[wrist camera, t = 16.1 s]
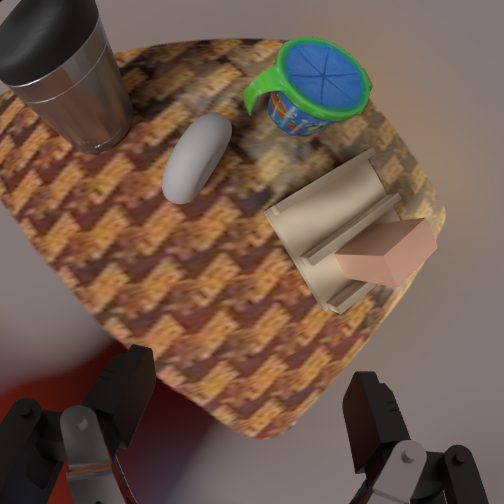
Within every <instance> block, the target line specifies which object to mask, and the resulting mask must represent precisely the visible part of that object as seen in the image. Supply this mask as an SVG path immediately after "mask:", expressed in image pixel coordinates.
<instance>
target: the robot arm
mask: <svg viewBox="0 0 504 504" xmlns="http://www.w3.org/2000/svg"><path fill="white" fill-rule="evenodd" d="M1 1H2V0H0V2H1ZM0 80H1V81H2V82H3V83H5V84H6V85H7V86H8V87H9V88H10V89H11V90H12V91H13V92H14V93H15V94H16V95H17V96H18V97H19V98H20V99H21V100H23V101H24V102H25V103H26V104H27V105H28V106H29V107H30V108H31V109H32V110H33V111H35V112H36V113H37V114H38V115H39V116H40V117H41V118H42V119H43V120H44V121H45V122H46V123H48V124H49V125H50V126H51V127H52V128H53V129H54V130H55V131H56V132H57V133H59V134H60V135H61V136H62V137H63V138H64V139H65V140H66V141H67V142H68V143H70V144H71V145H72V146H73V147H74V148H75V149H77V150H78V151H80V152H83V153H87V154H95V153H100V152H103V151H106V150H108V149H110V148H112V147H113V146H115V145H116V144H117V143H119V142H120V141H121V140H122V138H123V137H124V136H125V135H126V133H127V132H128V130H129V129H130V126H131V124H132V121H133V116H134V110H133V105H132V102H131V100H130V97H129V95H128V92H127V89H126V87H125V84H124V81H123V79H122V76H121V74H120V71H119V68H118V66H117V63H116V60H115V58H114V55H113V52H112V49H111V47H110V44H109V41H108V38H107V36H106V33H105V30H104V27H103V24H102V22H101V18H100V15H99V13H98V8H97V5H96V3H95V0H21V1H20V2H19V4H18V5H17V6H16V7H15V8H14V10H13V11H12V12H11V13H10V14H9V15H8V17H7V18H6V19H5V20H4V22H3V23H2V24H1V26H0ZM155 382H156V373H155V366H154V359H153V351H152V349H151V348H148V347H144V346H139V345H135V344H133V345H132V346H131V347H130V349H129V350H128V352H127V353H126V355H123V354H118V355H117V356H115V357H114V358H113V359H111V360H110V361H109V362H108V364H107V365H106V367H105V368H104V371H102V373H101V374H100V376H99V378H98V379H97V380H96V382H95V383H94V385H93V386H92V388H91V389H90V391H89V392H88V394H87V396H86V397H85V399H84V400H83V402H82V403H81V405H77V406H72V407H69V408H68V409H66V410H65V411H64V412H55V411H48V410H42V408H41V406H40V405H39V403H38V402H37V401H35V400H34V399H31V398H23V399H20V400H18V401H16V402H15V403H14V404H13V406H12V407H11V409H10V410H9V412H8V413H7V415H6V416H5V417H4V419H3V421H2V422H1V424H0V504H47V503H48V500H49V498H50V495H51V493H52V490H53V488H54V485H55V483H56V481H57V478H58V476H59V474H60V471H61V469H62V467H63V465H64V462H68V463H69V469H70V470H69V471H67V480H68V483H69V487H70V490H71V494H72V497H73V500H74V503H75V504H137V502H136V500H135V498H134V497H133V495H132V493H131V491H130V489H129V486H128V484H127V482H126V480H125V477H124V475H123V473H122V470H121V468H120V465H119V462H118V460H117V457H116V455H115V453H116V451H117V449H118V447H121V448H124V449H128V447H129V445H130V442H131V440H132V438H133V435H134V433H135V431H136V428H137V426H138V424H139V421H140V419H141V417H142V415H143V412H144V410H145V407H146V405H147V403H148V401H149V399H150V396H151V394H152V392H153V389H154V386H155ZM343 414H344V418H345V423H346V428H347V432H348V437H349V442H350V447H351V453H352V458H353V463H354V468H355V474H360V473H365V474H366V479H365V481H364V482H363V483H362V485H361V487H360V488H359V490H358V491H357V493H356V494H355V496H354V497H353V499H352V500H351V502H350V503H349V504H409V500H410V504H446V501H447V504H489V503H488V500H487V496H486V493H485V490H484V487H483V484H482V481H481V478H480V475H479V472H478V469H477V466H476V464H475V461H474V458H473V456H472V453H471V452H470V451H469V449H468V448H466V447H464V446H462V445H454V446H451V447H450V448H449V449H448V450H447V451H446V452H445V453H439V452H428V451H425V449H424V448H423V446H422V445H421V444H419V443H418V442H415V441H412V440H411V439H410V436H409V433H408V431H407V428H406V425H405V422H404V420H403V417H402V415H401V412H400V411H399V407H398V404H397V403H396V399H395V397H394V395H393V392H392V391H391V390H390V389H389V388H388V387H387V386H386V384H385V383H379V381H378V378H377V375H376V373H375V372H374V371H364V372H363V371H357V372H355V373H354V375H353V378H352V380H351V382H350V384H349V387H348V389H347V391H346V393H345V396H344V399H343ZM443 491H444V492H443ZM444 493H445V496H446V501H445V496H444Z"/></svg>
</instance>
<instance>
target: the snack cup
mask: <svg viewBox="0 0 504 504" xmlns="http://www.w3.org/2000/svg"><path fill="white" fill-rule="evenodd" d="M371 89H372V83H371V81H370V79H369V77H368V75H367V73H366V72H365V70H364V69H363V68H361V66H360V65H359V64H358V62H357V61H356V60H355V59H354V58H353V57H352V56H351V55H350V54H349V53H348V52H346V51H345V50H344V49H342V48H341V47H339V46H337V45H335V44H334V43H331V42H329V41H326V40H323V39H320V38H314V37H301V38H296V39H293V40H291V41H288V42H286V43H285V44H284V45H283V47H282V48H281V49H280V51H279V53H278V55H277V57H276V60H275V64H274V66H273V67H272V68H270V69H268V70H266V71H265V72H263V73H262V74H260V75H259V76H258V77H256V78H255V79H254V80H253V81H252V82H251V83H250V84H249V86H248V87H247V88H246V89H245V91H244V93H243V99H244V103H245V106H246V109H247V112H248V114H249V115H250V116H251V115H252V109H253V107H254V105H255V103H256V101H257V99H258V97H259V96H260V95H262V94H264V93H267V92H270V97H269V103H268V108H269V115H270V117H271V118H272V119H273V121H274V122H275V123H276V124H277V125H278V127H280V128H281V129H282V130H284V131H286V132H287V133H288V134H290V135H294V136H296V135H298V136H299V135H300V136H307V135H310V134H313V133H315V132H318V131H320V130H322V129H324V128H325V127H328V126H330V125H331V124H333V123H335V122H337V121H342V120H346V119H349V118H351V117H353V116H356V115H359V114H360V113H361V112H362V111H363V110H364V107H365V106H366V104H367V102H368V99H369V94H370V91H371Z"/></svg>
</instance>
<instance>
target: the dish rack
mask: <svg viewBox="0 0 504 504" xmlns="http://www.w3.org/2000/svg"><path fill="white" fill-rule="evenodd" d="M376 154H377V152H376V151H375V149H374V147H372V148H370V149H368V150H366V151H364V152H362V153H361V154H359V155H357V156H355V157H354V158H352V159H350V160H349V161H347V162H345V163H343V164H342V165H340V166H338V167H337V168H335V169H333V170H332V171H330V172H328V173H327V174H325V175H323V176H321V177H320V178H318V179H316V180H315V181H313V182H311V183H310V184H308V185H306V186H305V187H303V188H302V189H300V190H298V191H297V192H295V193H293V194H292V195H290V196H288V197H287V198H285V199H283V200H282V201H280V202H279V203H277V204H275V205H274V206H272V207H270V208H269V209H267V210H266V211H264V214H265V216H266V217H267V219H268V220H269V222H270V224H271V225H272V227H273V229H274V230H275V232H276V233H277V235H278V237H279V238H280V240H281V242H282V243H283V245H284V247H285V248H286V250H287V251H288V253H289V255H290V256H291V258H292V260H293V261H294V263H295V265H296V266H297V268H298V270H299V271H300V273H301V275H302V276H303V278H304V280H305V281H306V283H307V285H308V286H309V288H310V290H311V292H312V293H313V295H314V297H315V298H316V300H317V302H318V303H319V305H320V307H321V309H322V310H324V311H328V310H329V309H330V310H332V311H335V312H337V313H339V314H342V313H343V312H344V311H346V310H347V309H348V308H349V307H351V306H352V305H353V304H354V303H355V302H357V301H358V300H359V299H360V298H361V297H363V296H364V295H365V294H366V293H367V292H369V291H370V290H371V289H372V288H373V287H375V286H376V285H377V284H376V283H370V282H365V281H359V280H354V279H348V278H347V277H346V275H345V274H344V272H343V270H342V268H341V266H340V264H339V263H338V261H337V259H336V257H335V256H334V254H335V253H336V252H338V251H339V250H340V249H342V248H343V247H344V246H346V245H347V244H348V243H350V242H351V241H352V240H354V239H355V238H356V237H358V236H359V235H360V234H361V233H363V232H364V231H365V230H367V229H368V228H369V227H370V226H372V225H373V224H381V223H388V222H396V221H400V219H399V217H398V215H397V213H396V211H395V209H394V207H393V206H394V205H395V204H397V203H398V202H399V201H400V200H402V198H401V196H400V194H399V192H397V193H394V194H390V195H387V193H386V191H385V189H384V187H383V185H382V184H381V182H380V180H379V178H378V176H377V175H376V173H375V171H374V169H373V167H372V166H371V164H370V162H369V161H368V159H369V158H371V157H373V156H374V155H376Z"/></svg>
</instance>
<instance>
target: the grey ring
mask: <svg viewBox="0 0 504 504" xmlns="http://www.w3.org/2000/svg"><path fill="white" fill-rule="evenodd" d="M231 133H232V126H231V122H230V121H229V119H228V118H227V117H225V116H224V115H222V114H219V113H213V112H210V113H207V114H205V115H203V116H201V117H199V118H198V119H197V120H196V121H195V122H193V123H192V124H191V125H190V126H189V128H188V129H187V130H186V131H185V133H184V134H183V135H182V137H181V138H180V140H179V141H178V143H177V144H176V146H175V148H174V150H173V152H172V153H171V155H170V157H169V159H168V162H167V164H166V167H165V170H164V174H163V178H162V189H163V193H164V195H165V197H166V198H167V199H168V200H169V201H170V202H173V203H176V204H185V203H188V202H190V201H191V200H192V199H194V198H195V197H196V195H197V194H198V193H199V192H200V190H201V189H202V188H203V186H204V185H205V183H206V182H207V180H208V179H209V177H210V176H211V174H212V172H213V171H214V169H215V168H216V166H217V164H218V162H219V161H220V159H221V157H222V155H223V153H224V151H225V149H226V147H227V145H228V143H229V140H230V138H231Z"/></svg>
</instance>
